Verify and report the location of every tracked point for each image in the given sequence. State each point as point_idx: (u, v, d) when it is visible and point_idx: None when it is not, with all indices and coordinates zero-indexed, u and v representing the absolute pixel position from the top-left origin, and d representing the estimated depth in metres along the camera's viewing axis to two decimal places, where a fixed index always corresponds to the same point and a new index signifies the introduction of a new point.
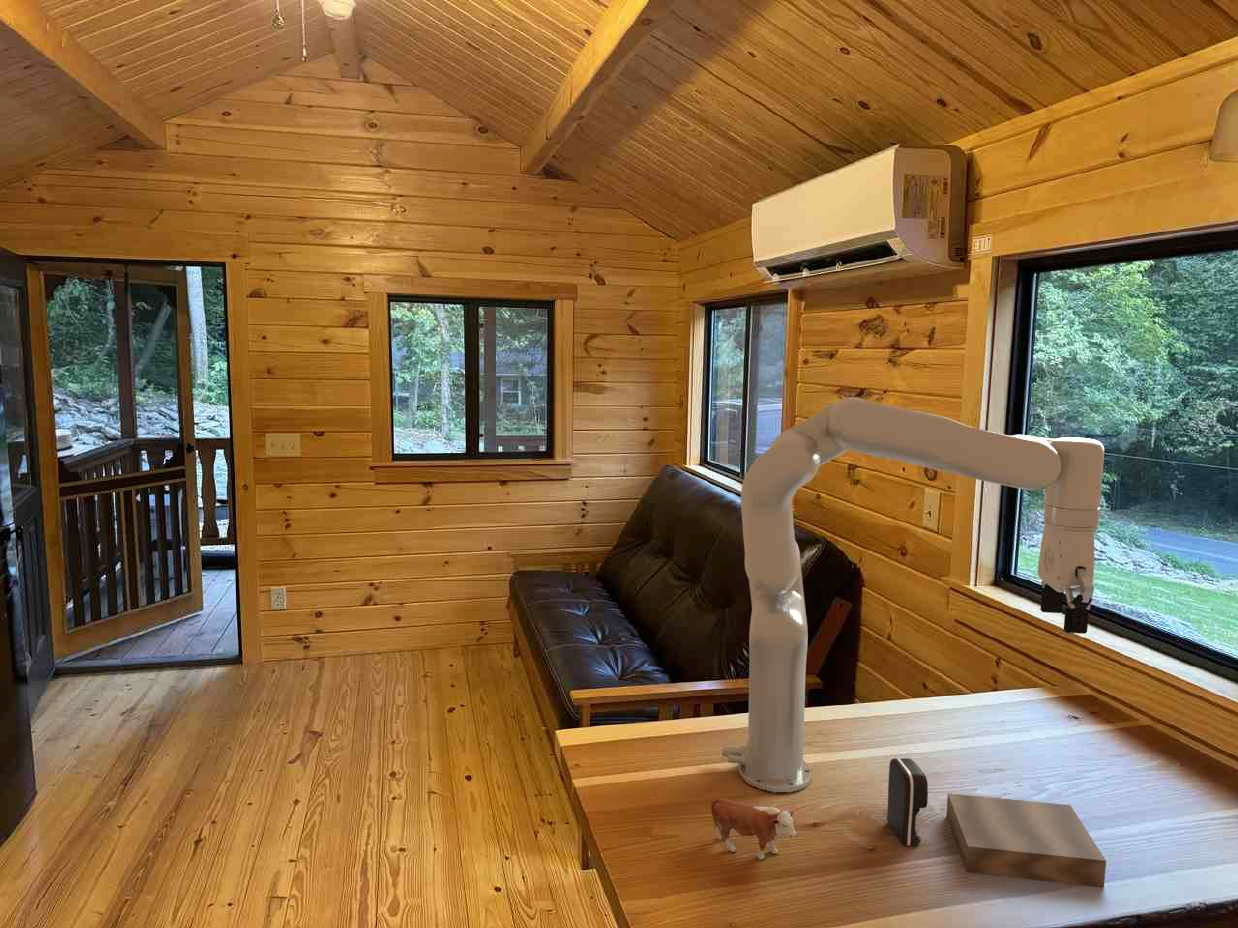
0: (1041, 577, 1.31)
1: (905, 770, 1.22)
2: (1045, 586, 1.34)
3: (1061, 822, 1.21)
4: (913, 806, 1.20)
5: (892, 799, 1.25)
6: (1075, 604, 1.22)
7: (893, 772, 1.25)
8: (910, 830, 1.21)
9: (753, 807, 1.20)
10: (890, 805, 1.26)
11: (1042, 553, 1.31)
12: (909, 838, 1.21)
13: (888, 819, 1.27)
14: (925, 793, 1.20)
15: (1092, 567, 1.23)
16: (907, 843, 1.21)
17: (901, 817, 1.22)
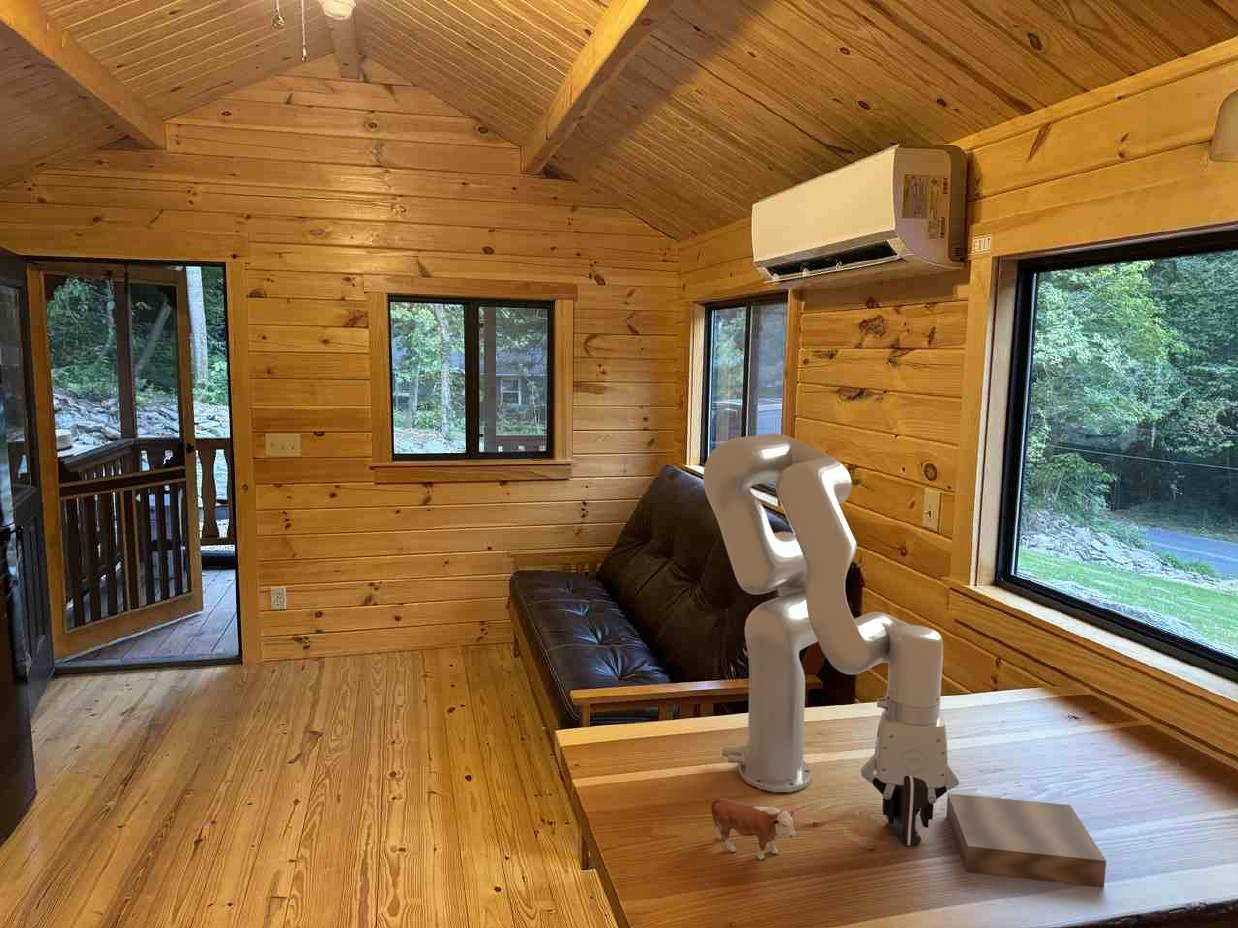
0: (895, 782, 1.21)
1: None
2: None
3: (1061, 822, 1.21)
4: (913, 806, 1.20)
5: None
6: (936, 796, 1.22)
7: None
8: (910, 830, 1.21)
9: (753, 807, 1.20)
10: None
11: (893, 757, 1.21)
12: (909, 838, 1.21)
13: None
14: (925, 793, 1.20)
15: None
16: (907, 843, 1.21)
17: (901, 817, 1.22)
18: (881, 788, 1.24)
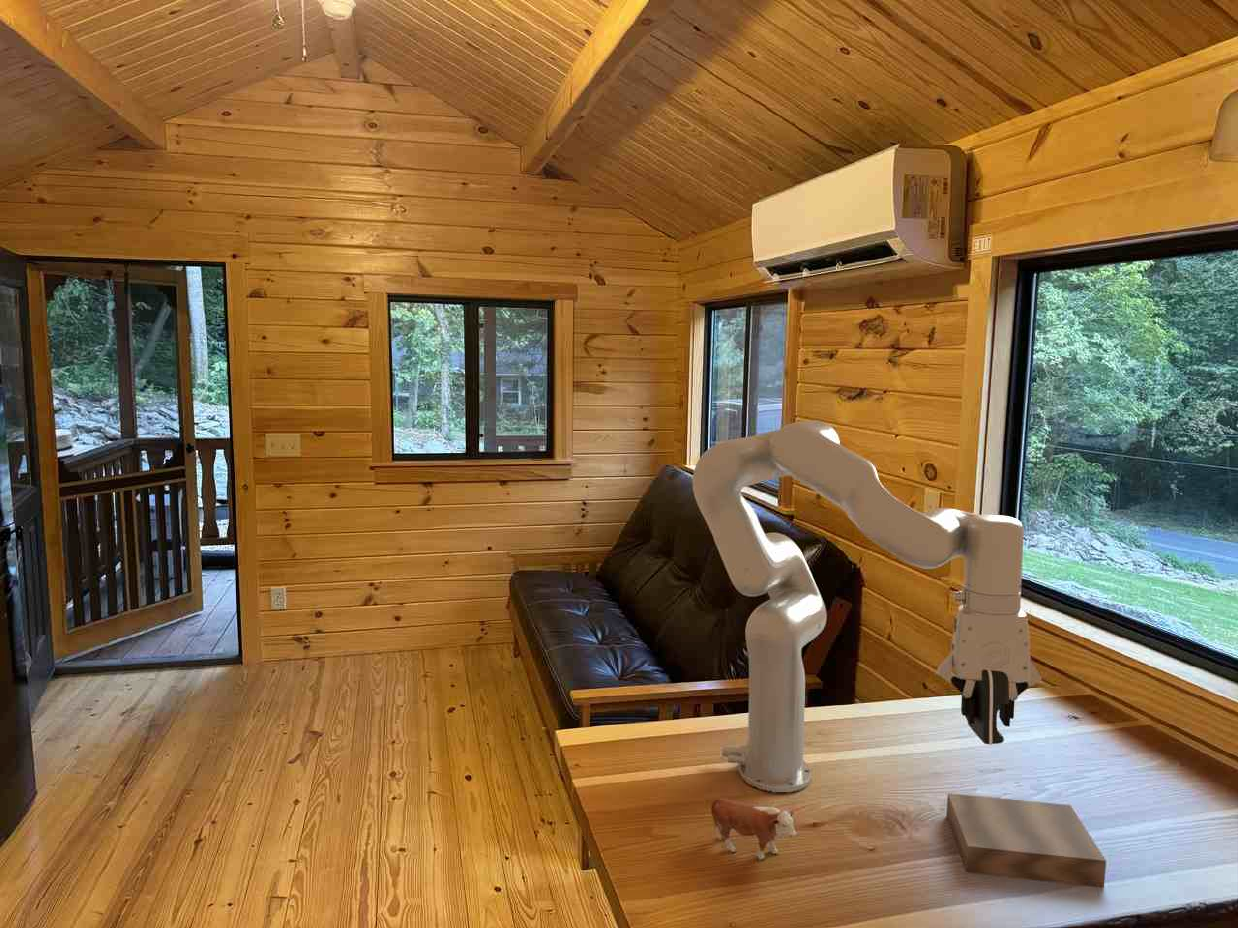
0: (975, 677, 1.16)
1: None
2: None
3: (1061, 822, 1.21)
4: (993, 702, 1.15)
5: None
6: (1017, 693, 1.17)
7: None
8: (991, 728, 1.16)
9: (753, 807, 1.20)
10: None
11: (972, 651, 1.16)
12: (991, 736, 1.16)
13: None
14: (1006, 688, 1.15)
15: None
16: (989, 742, 1.16)
17: (981, 715, 1.17)
18: (960, 687, 1.19)
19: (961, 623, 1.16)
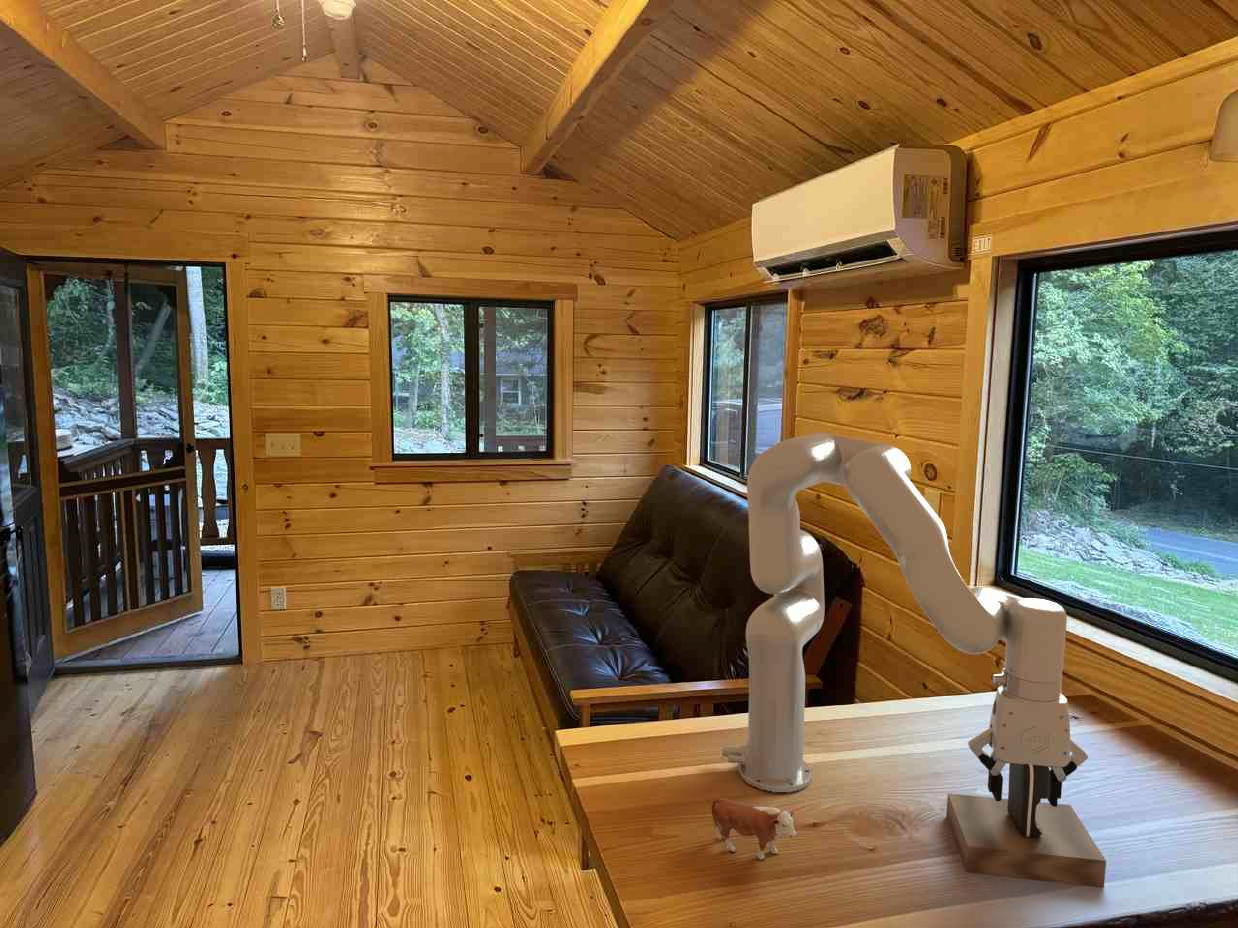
0: (1014, 761, 1.16)
1: None
2: None
3: (1061, 822, 1.21)
4: (1033, 796, 1.16)
5: (1012, 788, 1.21)
6: (1065, 774, 1.17)
7: None
8: (1030, 821, 1.16)
9: (753, 807, 1.20)
10: (1010, 795, 1.22)
11: (1012, 735, 1.16)
12: (1029, 829, 1.17)
13: (1008, 809, 1.22)
14: (1047, 783, 1.15)
15: None
16: (1026, 834, 1.17)
17: (1020, 807, 1.18)
18: (988, 764, 1.19)
19: (1001, 707, 1.16)
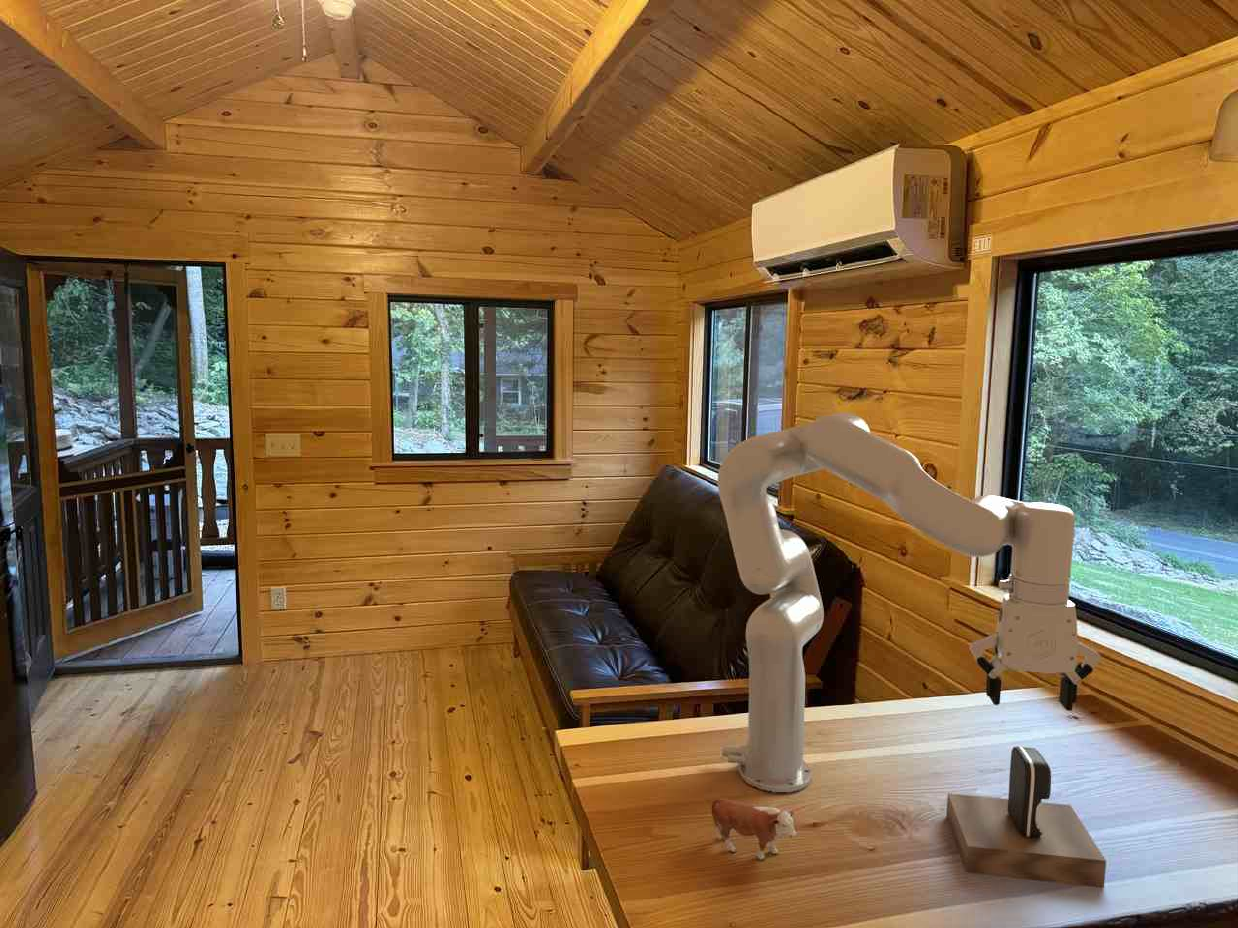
0: (1020, 667, 1.14)
1: (1027, 758, 1.17)
2: (996, 676, 1.17)
3: (1061, 822, 1.21)
4: (1033, 796, 1.16)
5: (1012, 788, 1.21)
6: (1080, 677, 1.15)
7: (1014, 760, 1.20)
8: (1030, 821, 1.16)
9: (753, 807, 1.20)
10: (1011, 795, 1.22)
11: (1018, 640, 1.14)
12: (1029, 829, 1.17)
13: (1008, 809, 1.22)
14: (1048, 784, 1.15)
15: None
16: (1026, 834, 1.17)
17: (1020, 807, 1.18)
18: (986, 667, 1.17)
19: (1008, 612, 1.14)
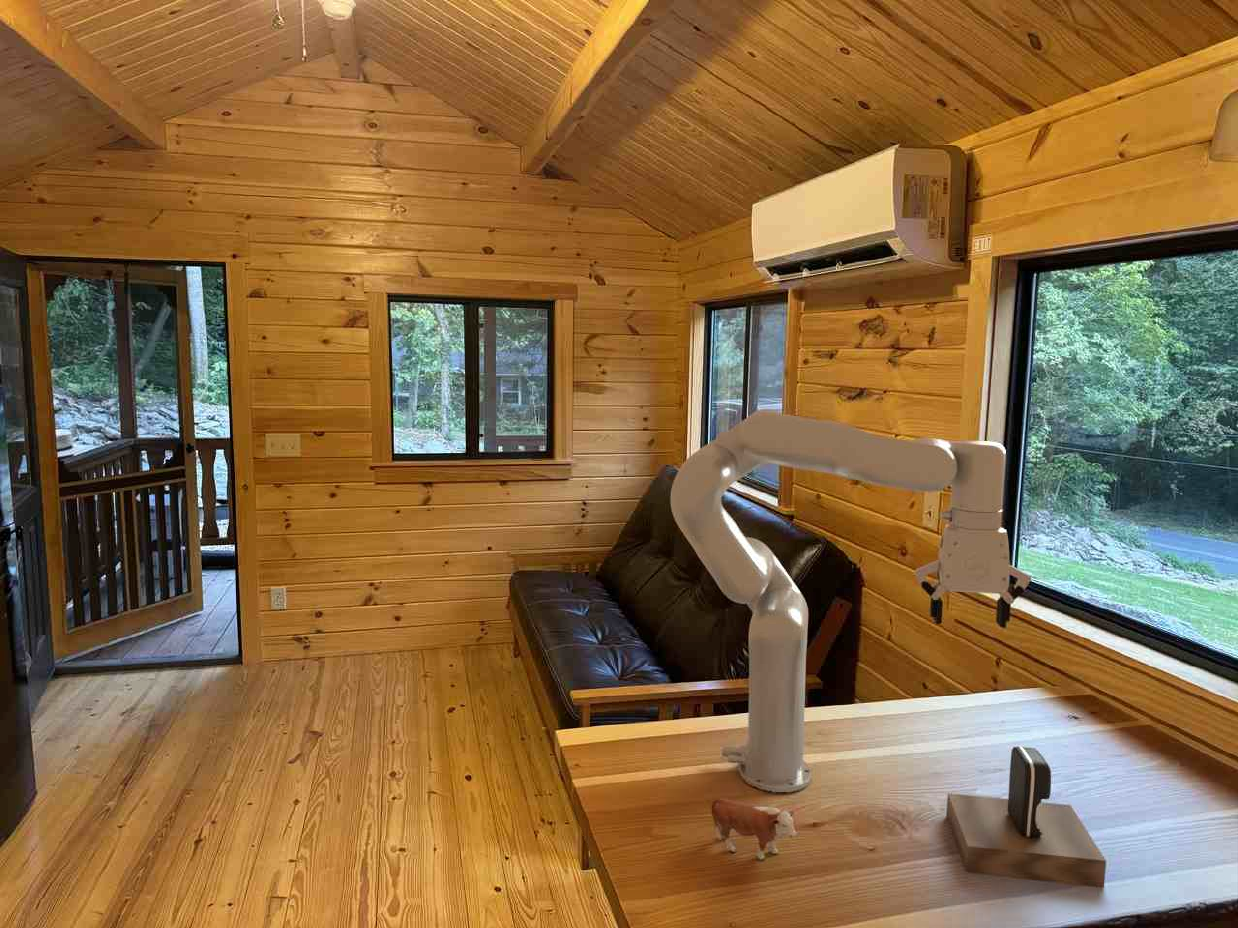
0: (959, 588, 1.27)
1: (1027, 758, 1.17)
2: (938, 597, 1.29)
3: (1061, 822, 1.21)
4: (1033, 796, 1.16)
5: (1012, 788, 1.21)
6: (1013, 597, 1.28)
7: (1014, 760, 1.20)
8: (1030, 821, 1.16)
9: (753, 807, 1.20)
10: (1011, 795, 1.22)
11: (957, 564, 1.27)
12: (1029, 829, 1.17)
13: (1008, 809, 1.22)
14: (1048, 784, 1.15)
15: None
16: (1026, 834, 1.17)
17: (1020, 807, 1.18)
18: (929, 590, 1.30)
19: (947, 539, 1.27)
